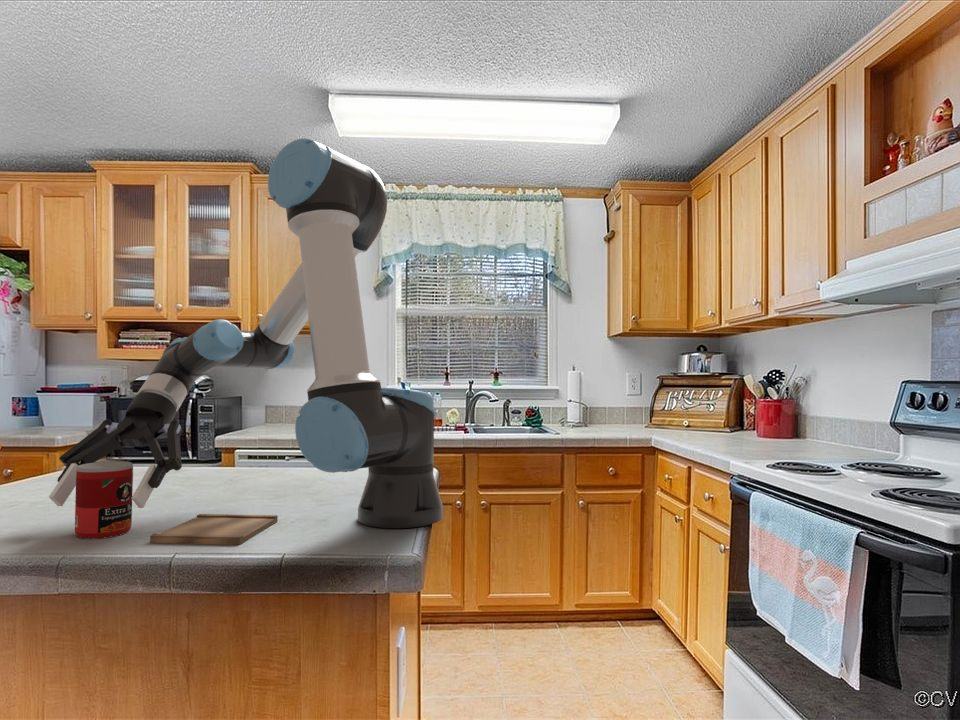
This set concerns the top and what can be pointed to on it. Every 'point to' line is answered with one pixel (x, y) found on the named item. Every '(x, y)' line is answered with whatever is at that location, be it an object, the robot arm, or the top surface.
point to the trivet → (216, 529)
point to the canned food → (103, 499)
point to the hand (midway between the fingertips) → (96, 502)
